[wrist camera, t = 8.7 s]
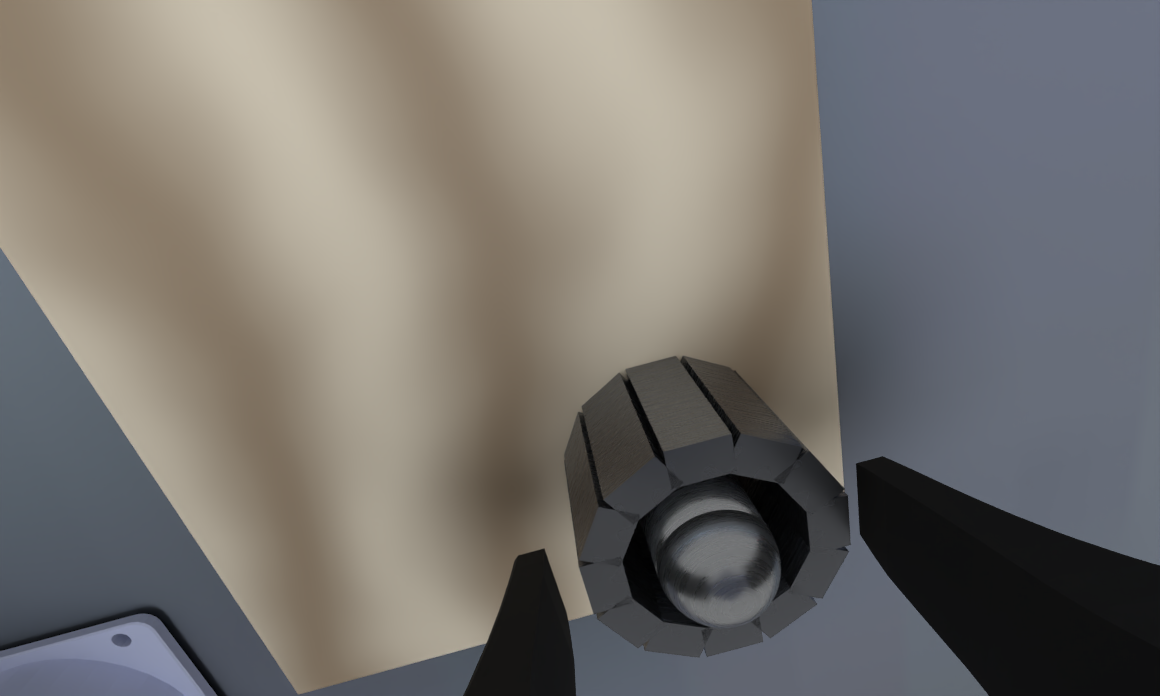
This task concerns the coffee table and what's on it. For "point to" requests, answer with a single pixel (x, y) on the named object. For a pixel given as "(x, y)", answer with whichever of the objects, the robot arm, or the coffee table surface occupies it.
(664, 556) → the post
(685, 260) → the board
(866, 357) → the coffee table surface
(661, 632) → the ring
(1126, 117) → the coffee table surface
